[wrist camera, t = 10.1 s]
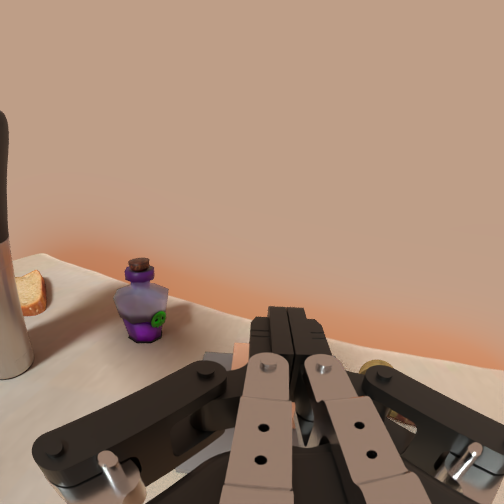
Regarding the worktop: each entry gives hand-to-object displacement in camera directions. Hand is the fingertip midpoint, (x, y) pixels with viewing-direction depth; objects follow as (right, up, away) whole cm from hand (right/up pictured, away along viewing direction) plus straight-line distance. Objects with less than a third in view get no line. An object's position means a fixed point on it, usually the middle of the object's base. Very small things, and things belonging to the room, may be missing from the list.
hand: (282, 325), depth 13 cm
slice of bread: (-49, -6, +40) cm, 63 cm away
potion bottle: (-18, -10, +32) cm, 38 cm away
